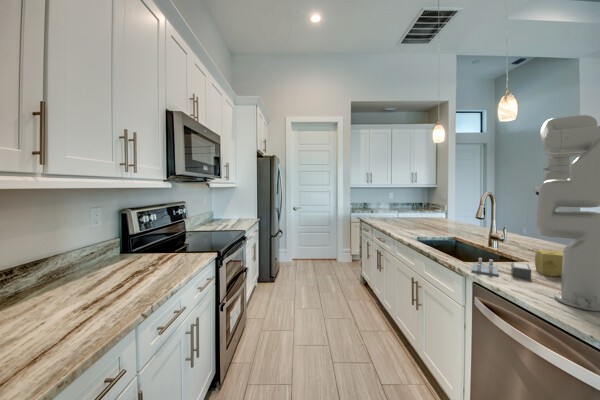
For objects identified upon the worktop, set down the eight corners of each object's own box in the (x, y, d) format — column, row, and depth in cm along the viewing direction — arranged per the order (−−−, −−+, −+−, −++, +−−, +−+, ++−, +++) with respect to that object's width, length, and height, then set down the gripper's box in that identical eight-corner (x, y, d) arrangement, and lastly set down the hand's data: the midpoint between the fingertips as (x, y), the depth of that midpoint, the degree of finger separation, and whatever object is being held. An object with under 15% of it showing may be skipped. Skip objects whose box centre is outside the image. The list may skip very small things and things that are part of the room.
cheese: (573, 279, 111) (575, 256, 110) (540, 275, 116) (541, 253, 116) (564, 272, 120) (565, 251, 120) (534, 269, 125) (534, 248, 125)
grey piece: (498, 276, 115) (498, 267, 115) (471, 272, 121) (471, 263, 121) (498, 268, 126) (498, 260, 126) (473, 264, 132) (473, 257, 132)
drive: (530, 280, 111) (531, 269, 111) (512, 277, 114) (513, 267, 114) (528, 274, 119) (528, 264, 119) (511, 271, 122) (511, 262, 122)
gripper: (534, 170, 124) (533, 205, 125) (587, 168, 113) (585, 207, 114) (532, 171, 130) (531, 204, 131) (582, 169, 119) (581, 206, 120)
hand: (556, 206), depth 123 cm, fingers open, 9 cm apart
